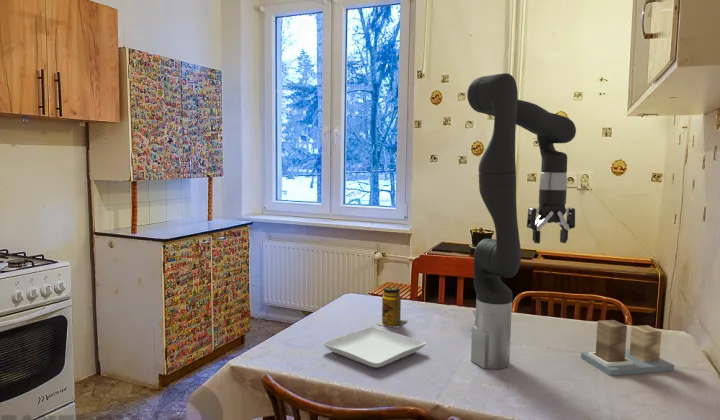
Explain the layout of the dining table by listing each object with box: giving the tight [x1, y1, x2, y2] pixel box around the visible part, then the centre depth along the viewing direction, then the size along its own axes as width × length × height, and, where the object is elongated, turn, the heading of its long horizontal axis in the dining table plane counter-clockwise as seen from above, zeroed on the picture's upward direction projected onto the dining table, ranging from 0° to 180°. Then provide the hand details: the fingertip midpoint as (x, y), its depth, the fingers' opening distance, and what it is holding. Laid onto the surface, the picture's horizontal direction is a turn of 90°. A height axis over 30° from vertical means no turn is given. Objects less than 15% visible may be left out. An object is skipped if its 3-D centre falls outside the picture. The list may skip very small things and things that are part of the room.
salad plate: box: [322, 326, 427, 368], centre depth 143 cm, size 21×21×3 cm
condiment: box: [377, 286, 408, 329], centre depth 169 cm, size 7×8×12 cm
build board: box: [580, 348, 676, 377], centre depth 138 cm, size 19×12×2 cm, turn 101°
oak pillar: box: [629, 324, 662, 362], centre depth 139 cm, size 5×5×8 cm
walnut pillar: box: [595, 319, 628, 362], centre depth 136 cm, size 5×5×10 cm
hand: (550, 242), depth 151 cm, fingers open, 8 cm apart
